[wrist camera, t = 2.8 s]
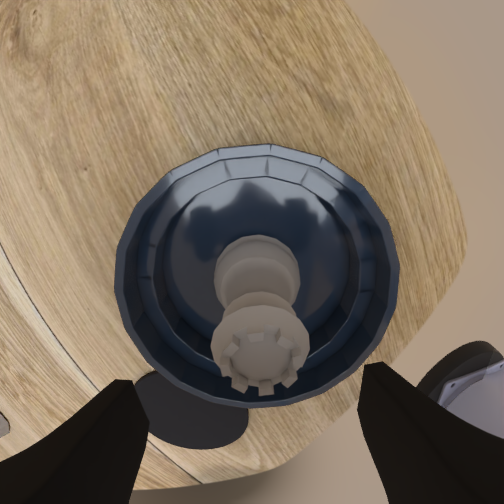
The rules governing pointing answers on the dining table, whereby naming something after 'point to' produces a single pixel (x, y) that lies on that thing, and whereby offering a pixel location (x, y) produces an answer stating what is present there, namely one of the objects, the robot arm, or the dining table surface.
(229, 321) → the rook chess piece
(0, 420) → the flask
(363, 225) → the bowl
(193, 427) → the coaster
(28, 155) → the dining table surface
